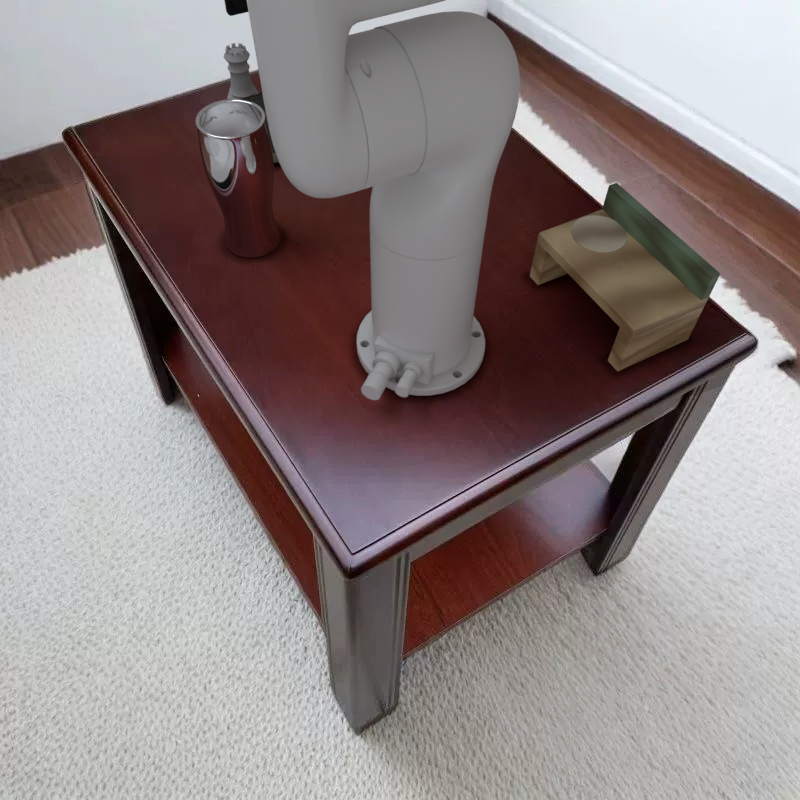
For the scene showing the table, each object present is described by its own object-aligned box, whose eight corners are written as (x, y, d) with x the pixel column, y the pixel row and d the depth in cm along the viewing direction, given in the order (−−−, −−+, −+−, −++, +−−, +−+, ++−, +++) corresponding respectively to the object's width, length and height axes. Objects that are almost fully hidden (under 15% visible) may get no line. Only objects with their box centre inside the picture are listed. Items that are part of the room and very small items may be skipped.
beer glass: (297, 239, 82) (282, 116, 70) (249, 270, 78) (225, 148, 66) (256, 211, 84) (234, 89, 72) (208, 240, 81) (177, 118, 69)
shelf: (688, 339, 73) (720, 273, 66) (617, 372, 71) (643, 306, 64) (596, 250, 81) (616, 182, 74) (529, 276, 79) (543, 208, 71)
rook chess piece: (244, 94, 99) (234, 35, 93) (269, 105, 98) (261, 46, 91) (221, 109, 97) (209, 49, 90) (246, 120, 95) (236, 61, 89)
